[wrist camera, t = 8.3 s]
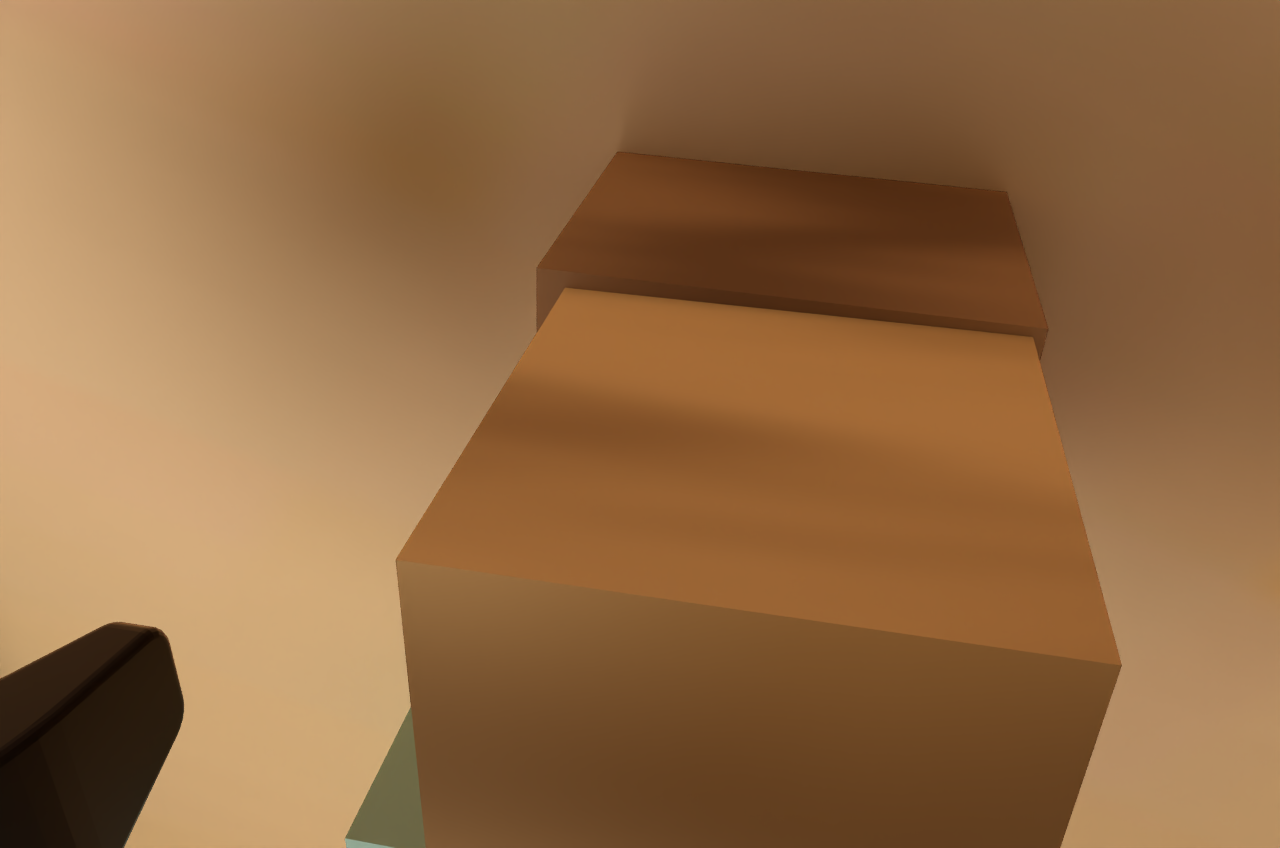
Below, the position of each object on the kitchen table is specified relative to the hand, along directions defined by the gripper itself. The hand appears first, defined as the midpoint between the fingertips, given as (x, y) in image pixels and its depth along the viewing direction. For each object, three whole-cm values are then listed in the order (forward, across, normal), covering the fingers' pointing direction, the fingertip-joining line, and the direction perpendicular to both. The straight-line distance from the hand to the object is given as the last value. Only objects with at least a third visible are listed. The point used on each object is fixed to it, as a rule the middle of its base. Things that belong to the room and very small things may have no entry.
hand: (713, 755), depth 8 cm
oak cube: (+4, 0, 0) cm, 4 cm away
